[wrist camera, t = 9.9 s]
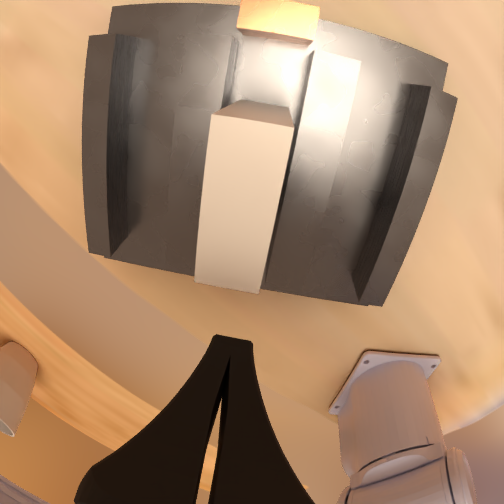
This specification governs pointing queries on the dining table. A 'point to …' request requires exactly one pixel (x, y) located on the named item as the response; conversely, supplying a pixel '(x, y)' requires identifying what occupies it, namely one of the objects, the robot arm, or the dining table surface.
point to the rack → (302, 146)
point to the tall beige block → (241, 193)
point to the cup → (15, 385)
